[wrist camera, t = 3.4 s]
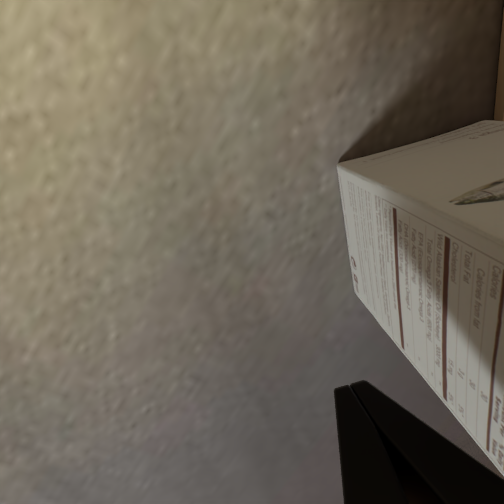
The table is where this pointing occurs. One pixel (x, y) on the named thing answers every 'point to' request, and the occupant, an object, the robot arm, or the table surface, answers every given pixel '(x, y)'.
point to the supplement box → (437, 264)
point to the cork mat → (500, 81)
